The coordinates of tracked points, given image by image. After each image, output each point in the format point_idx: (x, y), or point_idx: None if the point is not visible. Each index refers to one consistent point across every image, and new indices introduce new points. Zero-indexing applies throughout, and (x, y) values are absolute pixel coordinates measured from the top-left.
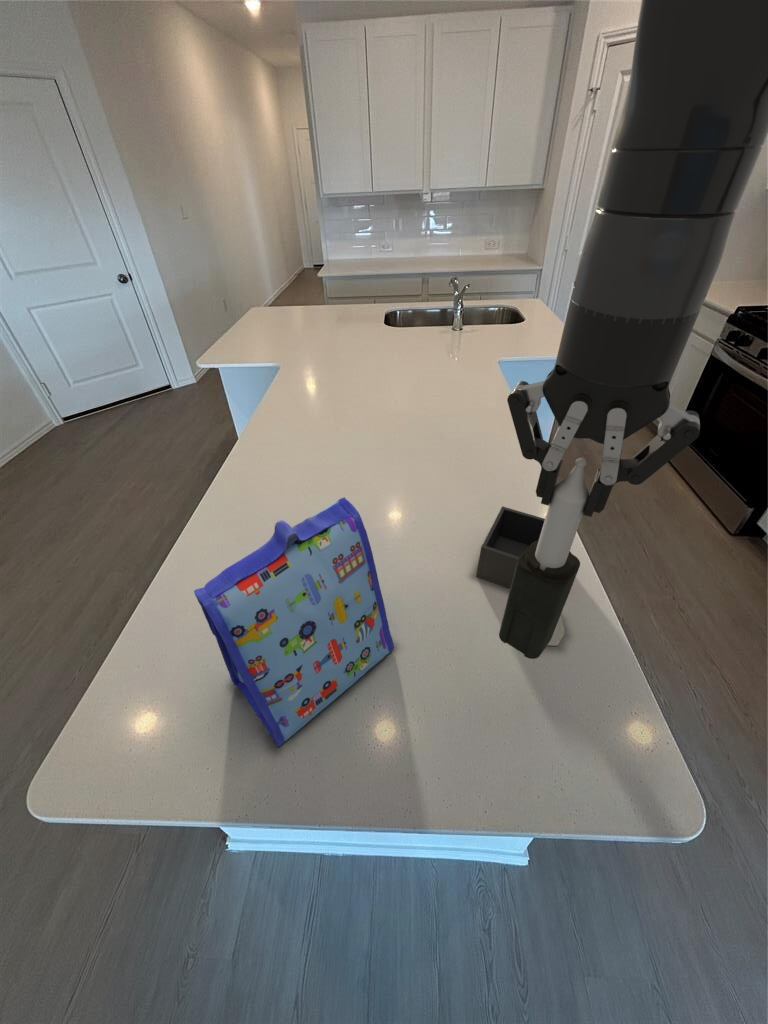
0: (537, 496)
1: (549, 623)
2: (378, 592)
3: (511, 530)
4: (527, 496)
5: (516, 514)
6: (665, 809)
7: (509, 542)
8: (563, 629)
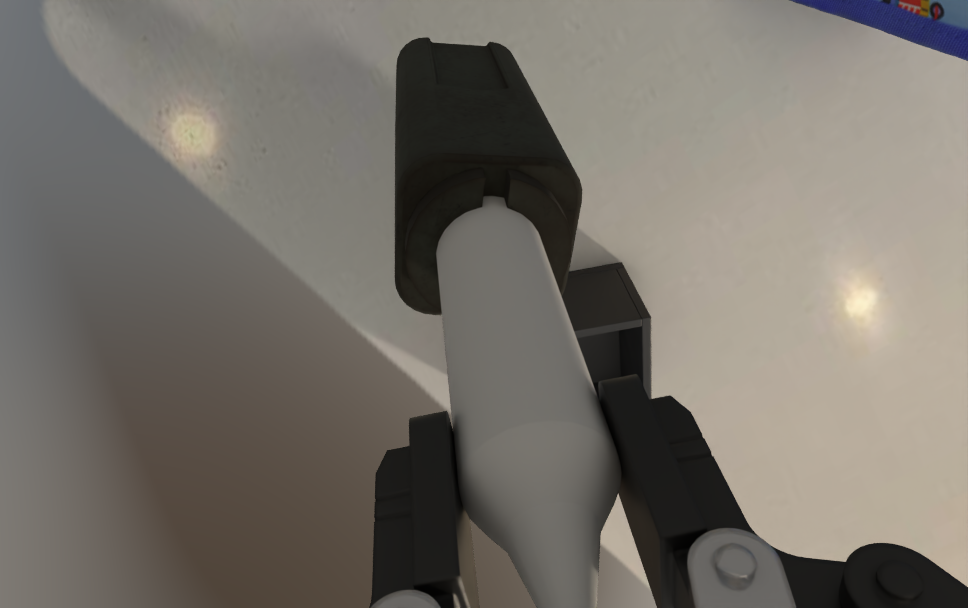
0: (667, 396)
1: (400, 102)
2: (859, 10)
3: None
4: None
5: None
6: (84, 14)
7: (594, 374)
8: None
